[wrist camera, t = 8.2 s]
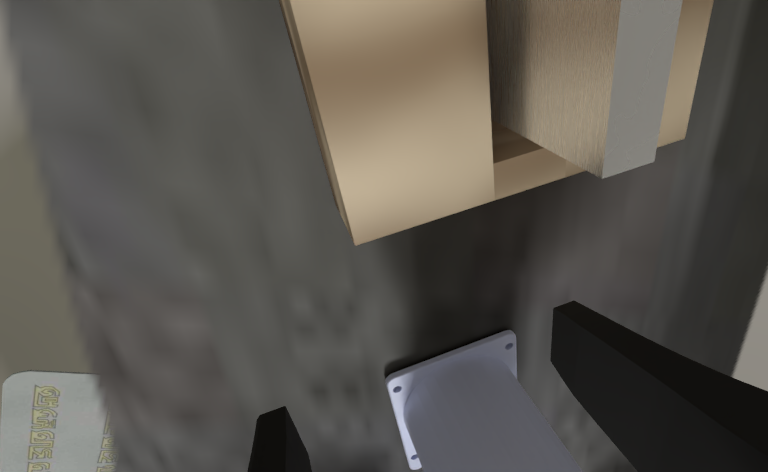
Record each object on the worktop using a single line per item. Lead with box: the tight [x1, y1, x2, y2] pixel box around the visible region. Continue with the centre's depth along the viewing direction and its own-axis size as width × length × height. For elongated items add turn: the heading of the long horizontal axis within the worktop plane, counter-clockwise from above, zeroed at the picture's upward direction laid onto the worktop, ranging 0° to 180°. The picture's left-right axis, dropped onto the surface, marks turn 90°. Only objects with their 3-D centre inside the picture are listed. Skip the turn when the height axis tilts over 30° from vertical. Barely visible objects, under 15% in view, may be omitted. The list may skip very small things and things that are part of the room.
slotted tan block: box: [279, 0, 714, 246], centre depth 15 cm, size 10×14×4 cm
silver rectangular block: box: [486, 0, 683, 179], centre depth 13 cm, size 5×2×7 cm, turn 10°
